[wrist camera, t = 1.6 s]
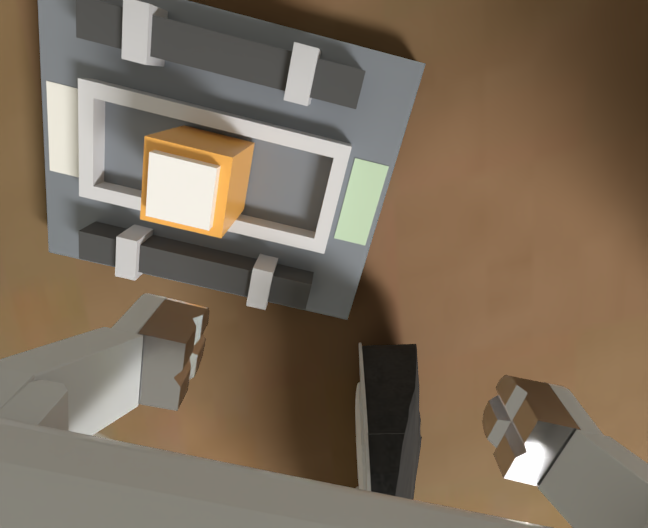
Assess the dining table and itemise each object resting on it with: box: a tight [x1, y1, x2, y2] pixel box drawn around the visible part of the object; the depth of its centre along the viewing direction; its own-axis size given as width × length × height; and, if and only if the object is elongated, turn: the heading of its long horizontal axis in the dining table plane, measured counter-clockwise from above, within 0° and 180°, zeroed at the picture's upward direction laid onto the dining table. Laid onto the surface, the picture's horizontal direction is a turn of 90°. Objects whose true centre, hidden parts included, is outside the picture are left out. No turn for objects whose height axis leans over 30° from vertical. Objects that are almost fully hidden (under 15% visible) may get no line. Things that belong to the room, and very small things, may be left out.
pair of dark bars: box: [76, 0, 366, 310], centre depth 23 cm, size 14×15×2 cm
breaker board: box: [38, 0, 425, 320], centre depth 24 cm, size 20×16×3 cm
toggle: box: [140, 125, 255, 238], centre depth 21 cm, size 4×4×6 cm
